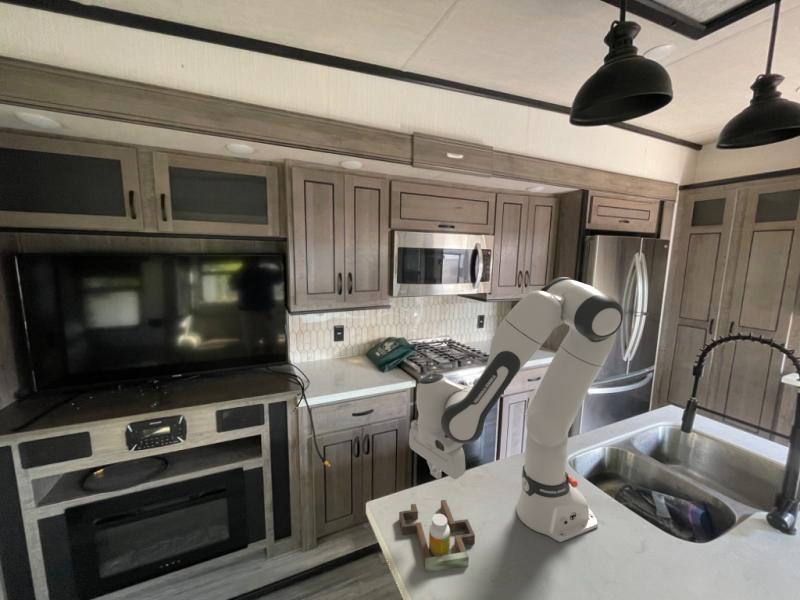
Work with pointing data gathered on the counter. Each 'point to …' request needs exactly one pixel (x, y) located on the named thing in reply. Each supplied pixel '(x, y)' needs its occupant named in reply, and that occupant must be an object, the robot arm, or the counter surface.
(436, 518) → the supplement bottle
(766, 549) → the counter surface
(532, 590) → the counter surface
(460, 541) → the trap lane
